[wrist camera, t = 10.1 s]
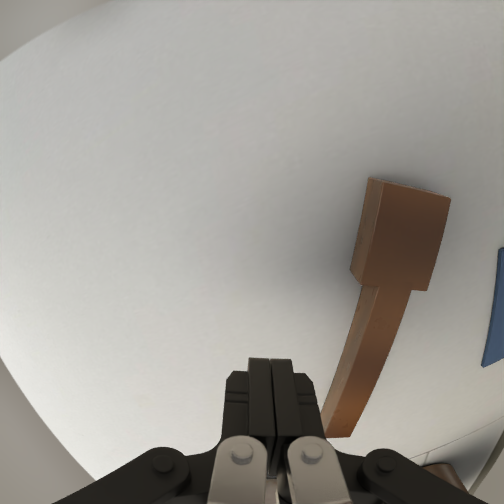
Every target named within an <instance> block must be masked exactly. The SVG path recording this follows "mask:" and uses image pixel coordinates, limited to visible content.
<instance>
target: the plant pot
mask: <svg viewBox="0 0 504 504" xmlns="http://www.w3.org/2000/svg"><path fill="white" fill-rule="evenodd" d="M422 468H424V469H426V470H427V471H429V472H431V473H432V474H434V475H436V476H438V477H439V478H441V479H443V480H445V481H446V482H448V483H450V484H452V485H454V486H455V487H457V488H459V489H461V490H463V491H465V492H467V493H468V491H467V490H466V488H465V486H464V485H463V483H462V482H461V480H460V479H459V477H458V475H457V474H456V472H455V470H454V469H453V467H452V466H451V465H449V464H434V465H430V466H426V467H422ZM468 494H469V493H468Z"/></svg>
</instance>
